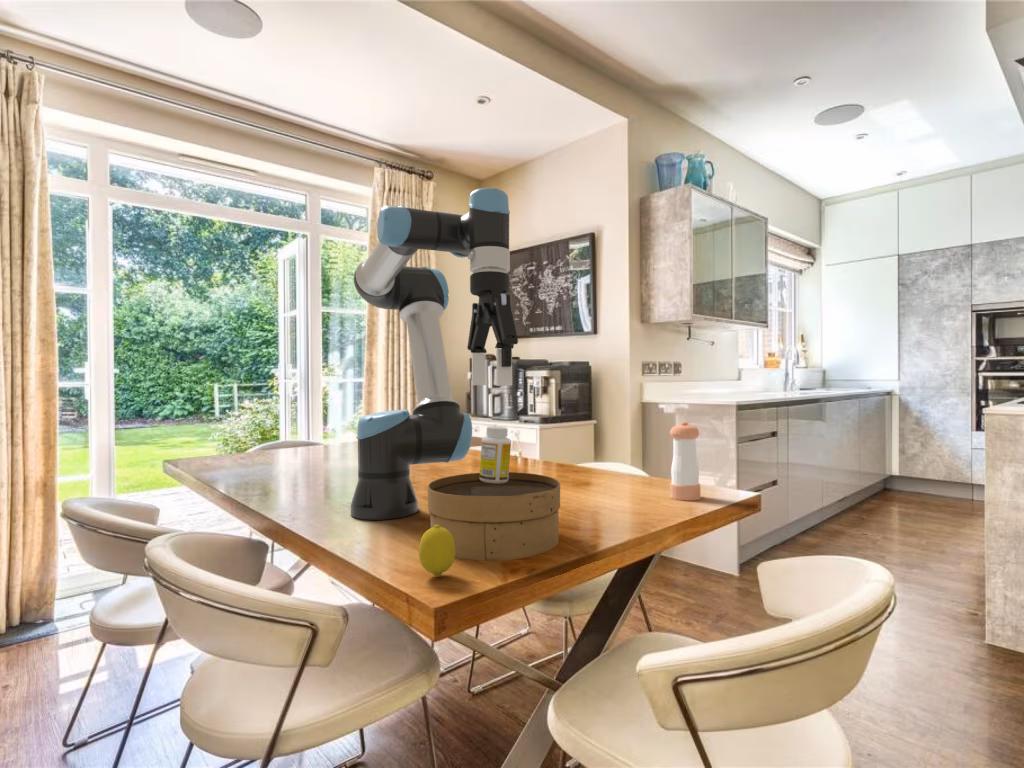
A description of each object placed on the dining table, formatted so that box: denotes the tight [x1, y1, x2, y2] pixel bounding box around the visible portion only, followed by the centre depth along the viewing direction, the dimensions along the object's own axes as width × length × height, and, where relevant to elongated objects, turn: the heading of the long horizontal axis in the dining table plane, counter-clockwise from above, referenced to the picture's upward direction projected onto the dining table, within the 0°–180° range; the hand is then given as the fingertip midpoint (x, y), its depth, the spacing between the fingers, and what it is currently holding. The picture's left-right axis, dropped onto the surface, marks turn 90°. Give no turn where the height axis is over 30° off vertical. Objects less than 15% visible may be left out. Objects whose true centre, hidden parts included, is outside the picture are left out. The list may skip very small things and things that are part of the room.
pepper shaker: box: [669, 421, 701, 501], centre depth 137 cm, size 7×7×19 cm
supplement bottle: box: [479, 426, 512, 484], centre depth 103 cm, size 6×6×10 cm
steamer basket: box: [427, 471, 561, 562], centre depth 103 cm, size 25×25×11 cm
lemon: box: [418, 525, 456, 578], centre depth 83 cm, size 6×6×8 cm
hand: (490, 385), depth 103 cm, fingers open, 13 cm apart
